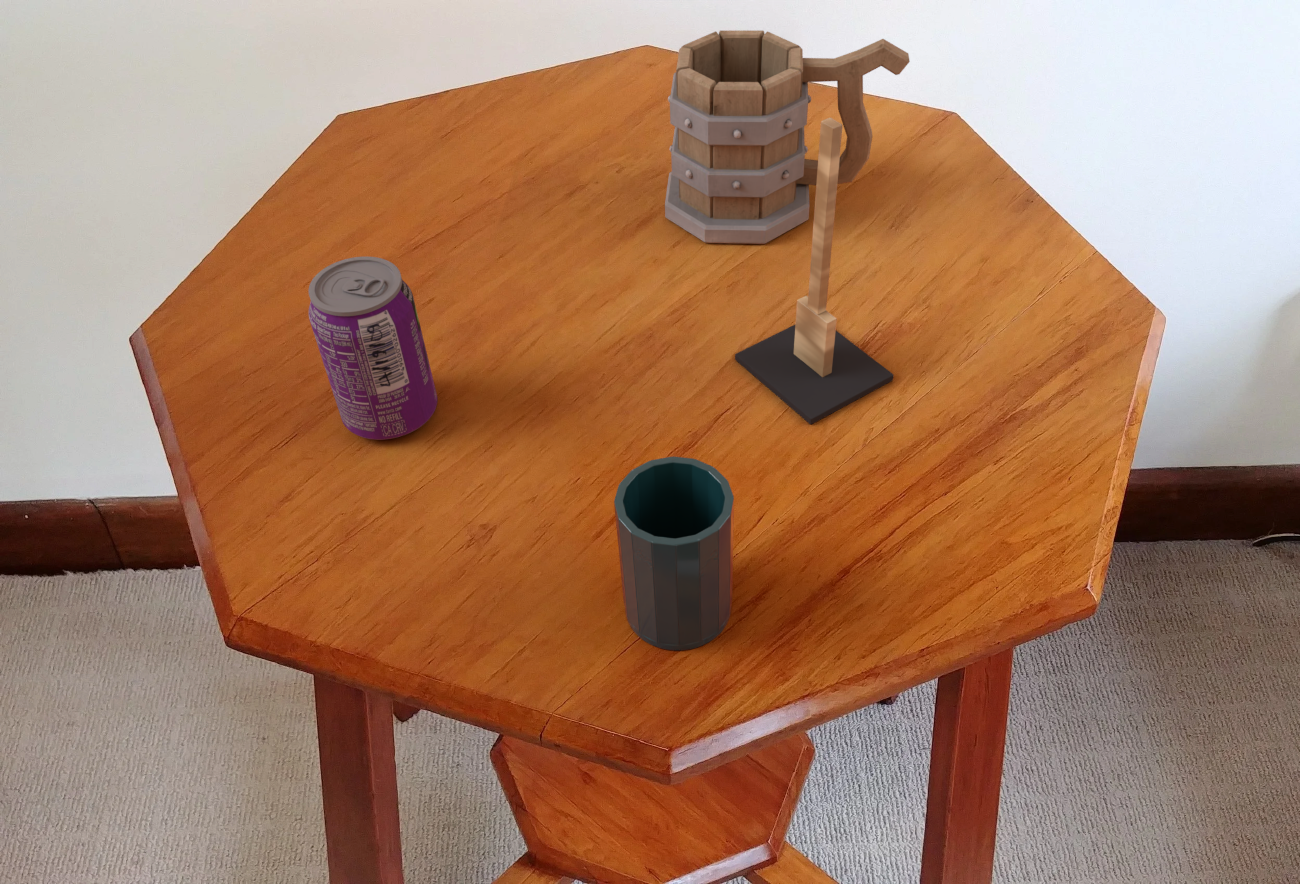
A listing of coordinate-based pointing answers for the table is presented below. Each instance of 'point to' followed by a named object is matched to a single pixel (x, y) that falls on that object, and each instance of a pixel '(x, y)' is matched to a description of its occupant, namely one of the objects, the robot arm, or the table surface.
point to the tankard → (758, 131)
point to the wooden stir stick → (820, 260)
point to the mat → (813, 375)
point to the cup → (676, 551)
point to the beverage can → (372, 347)
